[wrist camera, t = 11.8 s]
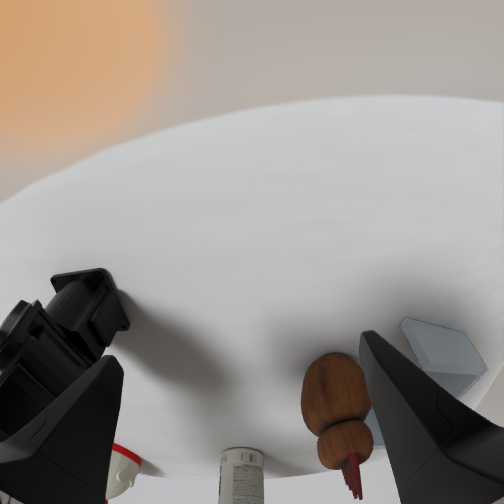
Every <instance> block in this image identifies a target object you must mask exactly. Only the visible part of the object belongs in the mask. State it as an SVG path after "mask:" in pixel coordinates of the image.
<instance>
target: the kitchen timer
mask: <svg viewBox="0 0 504 504" xmlns="http://www.w3.org/2000/svg"><path fill="white" fill-rule="evenodd" d="M140 465H141V459H140V458H139V457H138V456H137V455H136V454H134V453H133V452H131V451H129V450H128V449H126V448H124V447H122V446H120V445H118V444H116V443H113V449H112V455H111V461H110V468H109V475H108V482H107V490H106V500H105V504H108V500H107V499H111V498H114V497H117V496H119V495H120V494H122V493H123V492H124V491H126V489H128V487H129V486H130V487H133V485H134V481H135V477H136V476H137V474H138V472H139V469H140Z"/></svg>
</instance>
